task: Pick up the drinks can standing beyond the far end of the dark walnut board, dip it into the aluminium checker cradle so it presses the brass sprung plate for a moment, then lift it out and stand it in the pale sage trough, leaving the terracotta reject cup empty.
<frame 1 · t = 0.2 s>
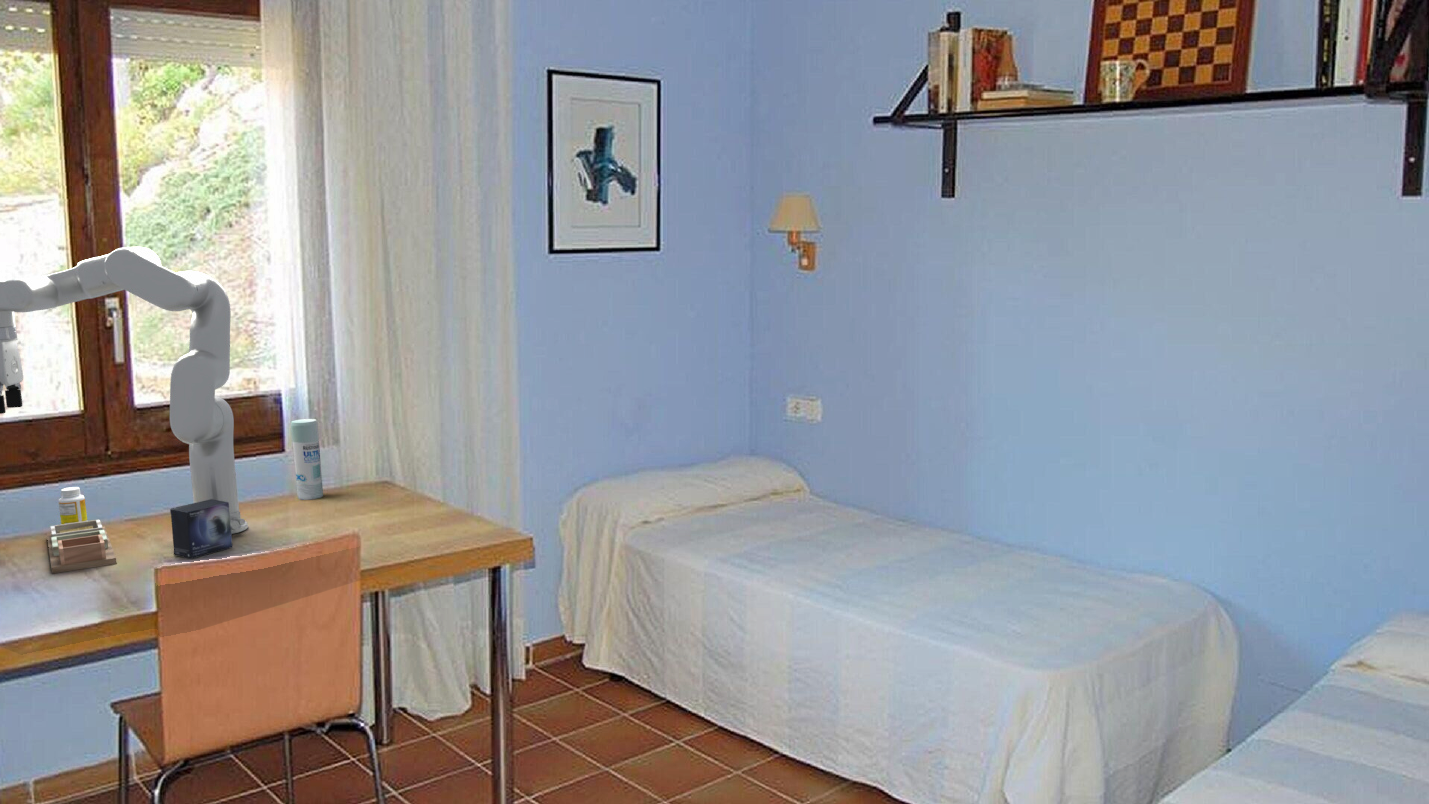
hand: (6, 410, 275), 30 cm above the table, tool pointing down, fingers open, 9 cm apart
spray paint can: (310, 497, 315), on the table
sprung plate: (77, 532, 277), point 2 cm above the table, slide at 0.0 cm
supplement bottle: (75, 531, 287), on the table
small box: (204, 552, 264), on the table
board: (80, 550, 268), on the table
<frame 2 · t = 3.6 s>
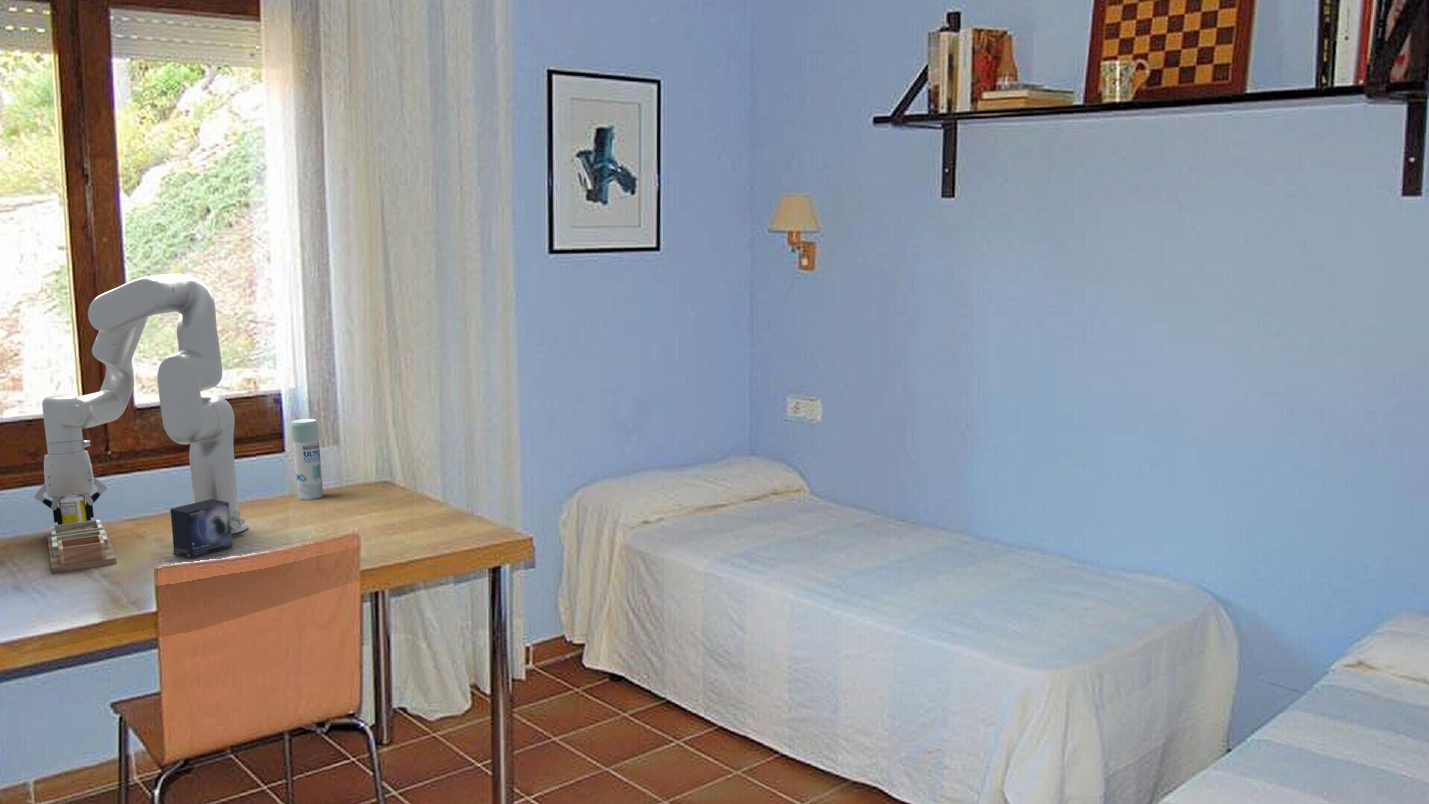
hand: (74, 522, 287), 2 cm above the table, tool pointing down, fingers closed on supplement bottle, 5 cm apart
supplement bottle: (75, 531, 287), on the table, touching gripper
everything else where it was.
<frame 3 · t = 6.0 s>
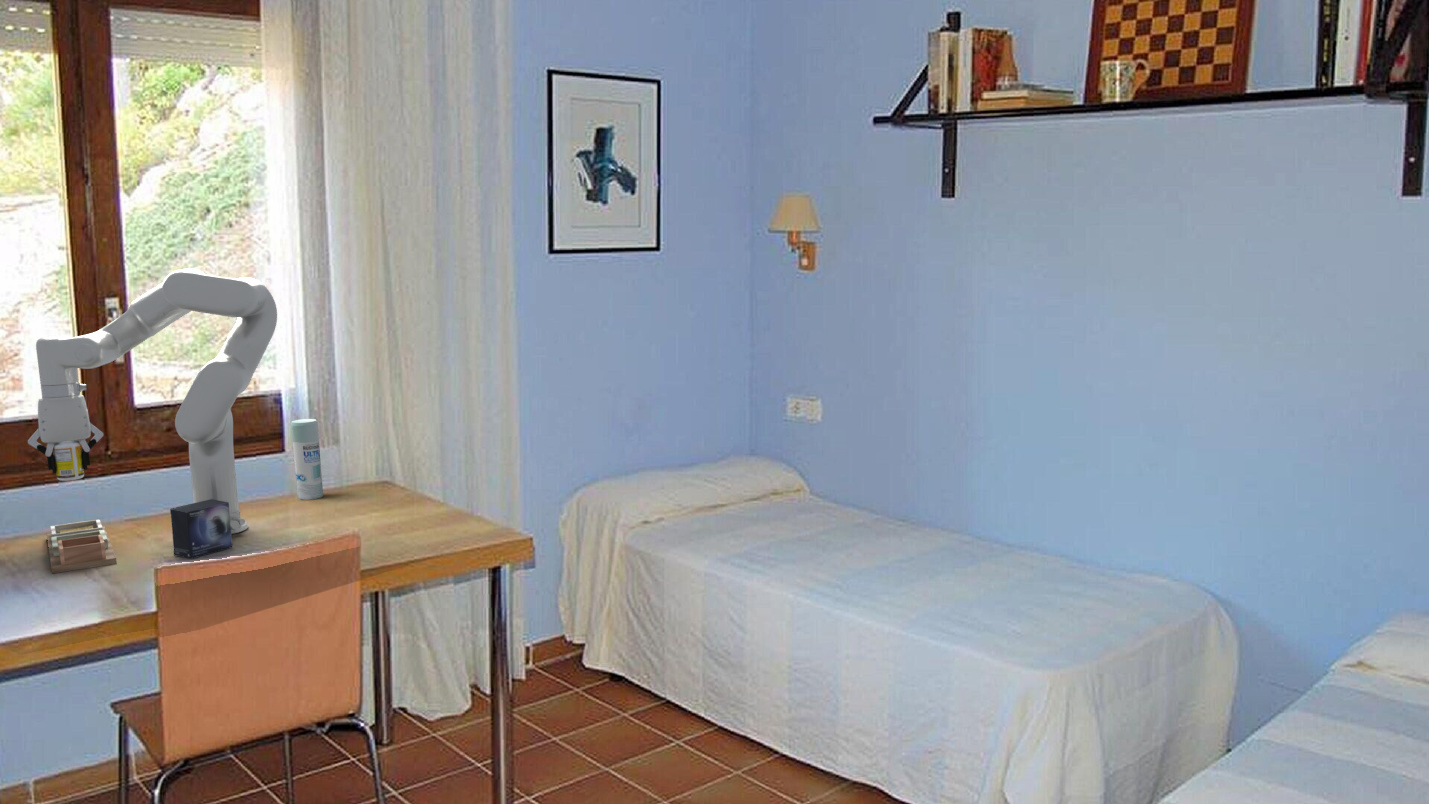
hand: (69, 470, 274), 17 cm above the table, tool pointing down, fingers closed on supplement bottle, 5 cm apart
supplement bottle: (70, 479, 275), point 14 cm above the table, touching gripper
everything else where it was.
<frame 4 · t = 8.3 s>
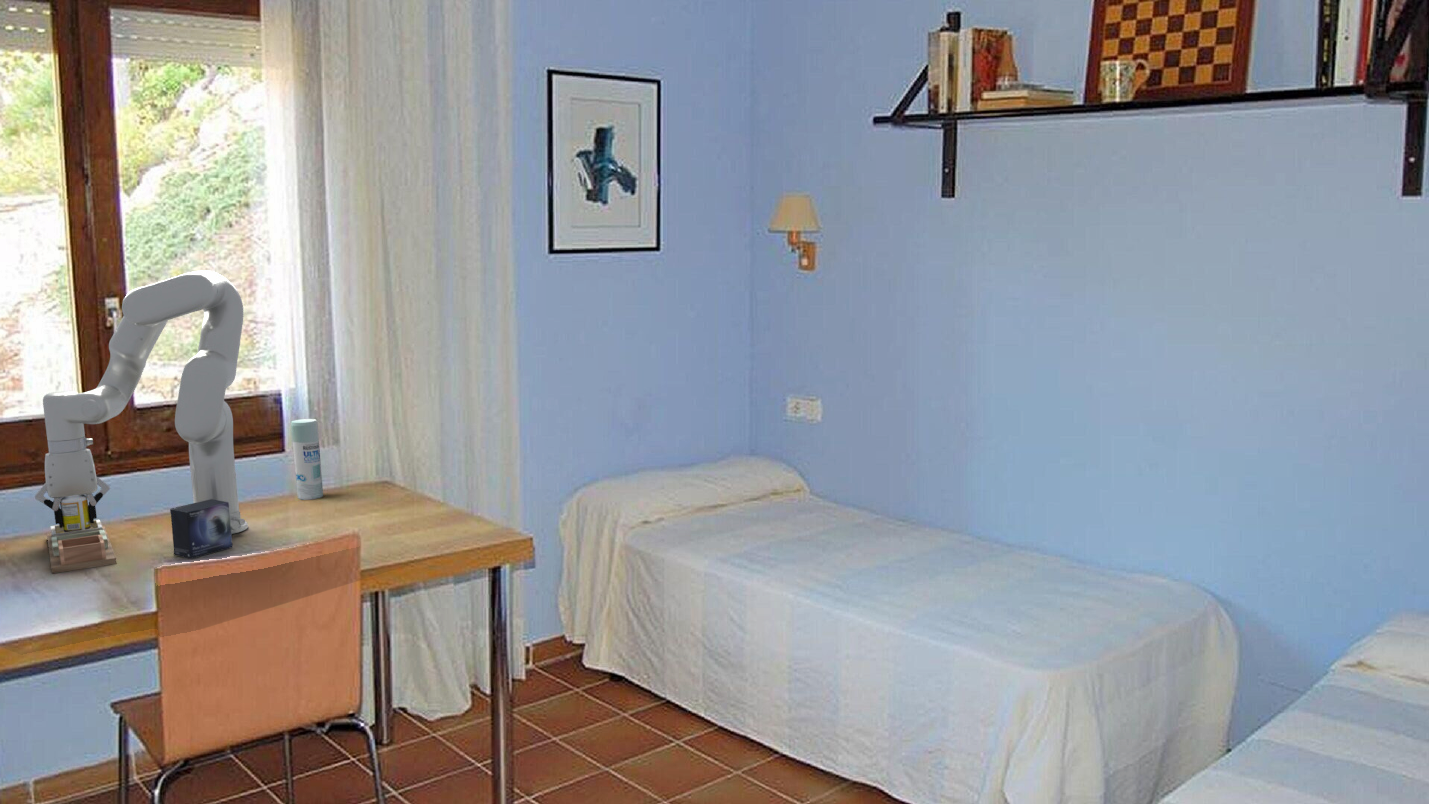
hand: (76, 523, 276), 4 cm above the table, tool pointing down, fingers closed on supplement bottle, 5 cm apart
sprung plate: (77, 534, 277), point 2 cm above the table, slide at -0.3 cm, touching supplement bottle
supplement bottle: (77, 533, 277), point 2 cm above the table, touching gripper, sprung plate
everything else where it was.
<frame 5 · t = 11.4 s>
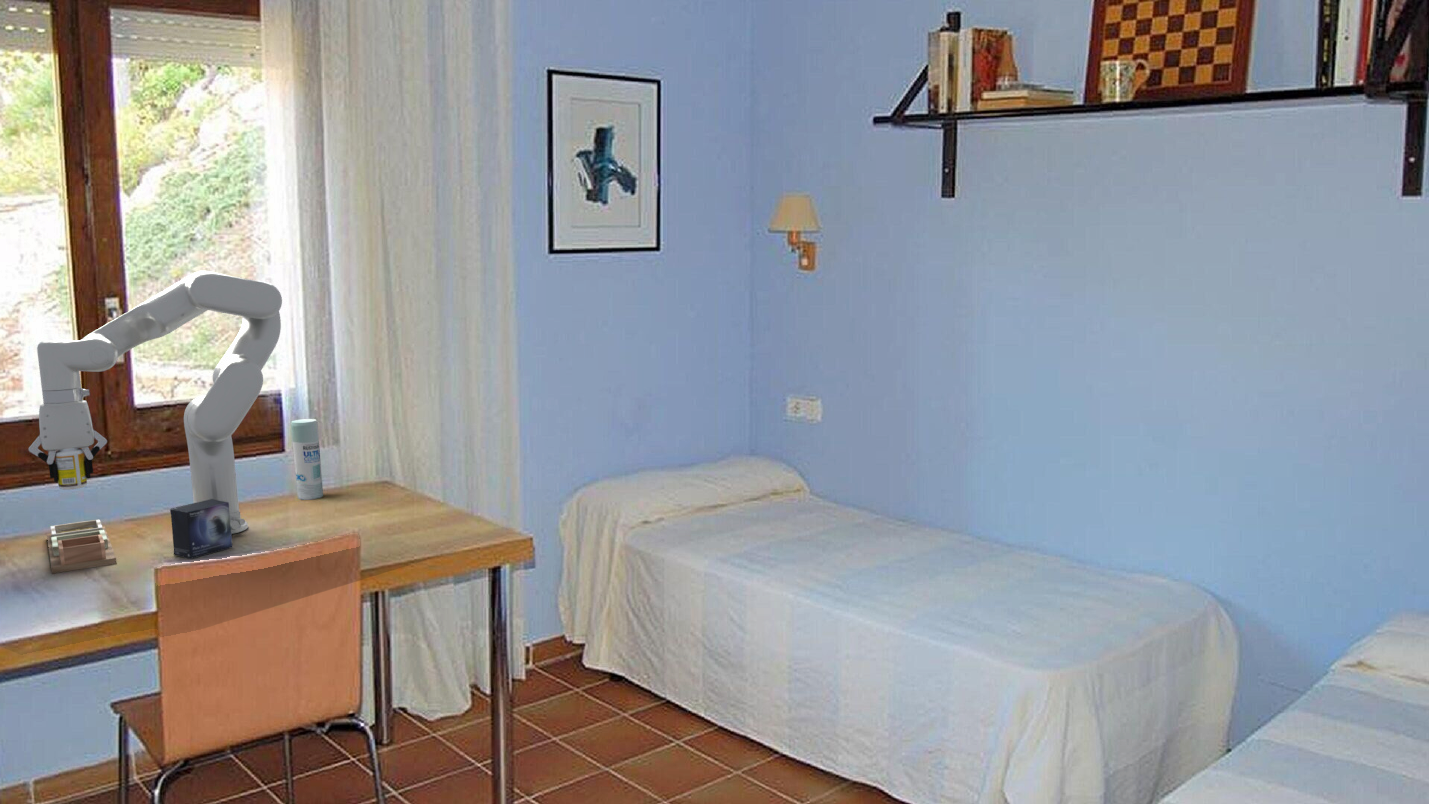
hand: (72, 478, 265), 17 cm above the table, tool pointing down, fingers closed on supplement bottle, 5 cm apart
sprung plate: (77, 534, 277), point 2 cm above the table, slide at -0.3 cm
supplement bottle: (73, 488, 265), point 14 cm above the table, touching gripper
everything else where it was.
when the fingers open (4 cm above the table, at t = 14.4 s): supplement bottle stays where it is, resting on board.
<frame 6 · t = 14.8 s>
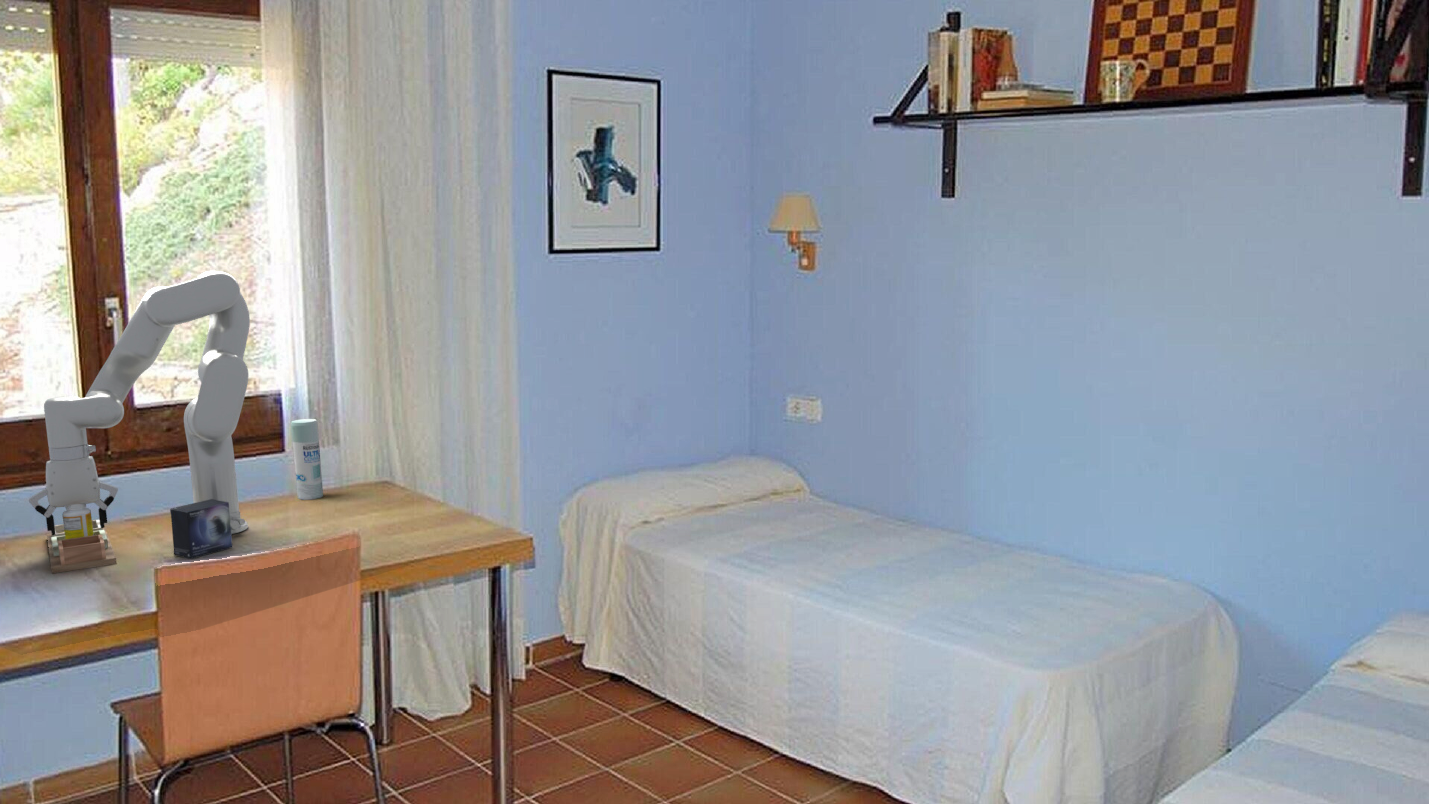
hand: (78, 530, 266), 5 cm above the table, tool pointing down, fingers open, 9 cm apart
supplement bottle: (80, 547, 267), point 1 cm above the table, touching board
everything else where it was.
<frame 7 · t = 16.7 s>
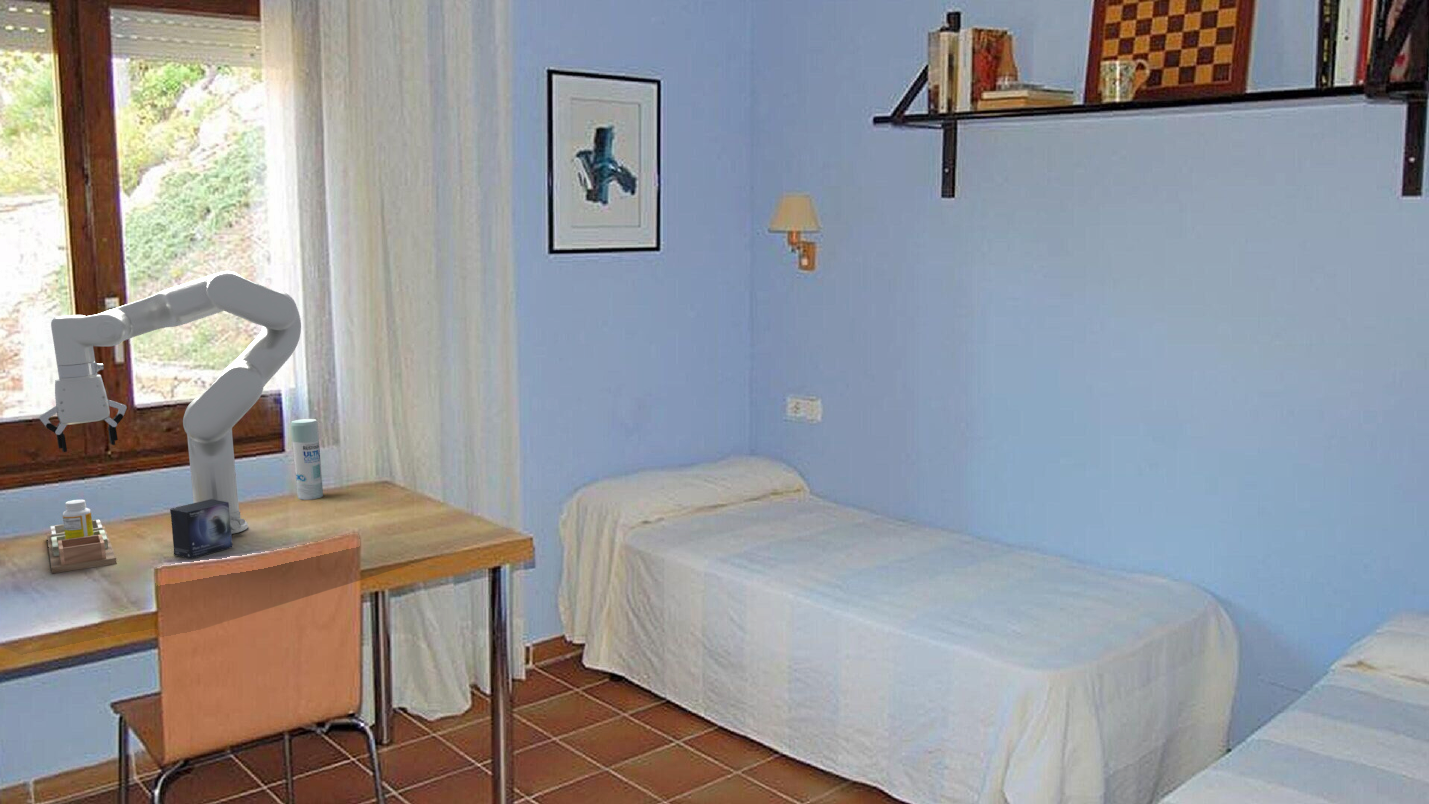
hand: (89, 447, 270), 22 cm above the table, tool pointing down, fingers open, 9 cm apart
nothing on the table moved.
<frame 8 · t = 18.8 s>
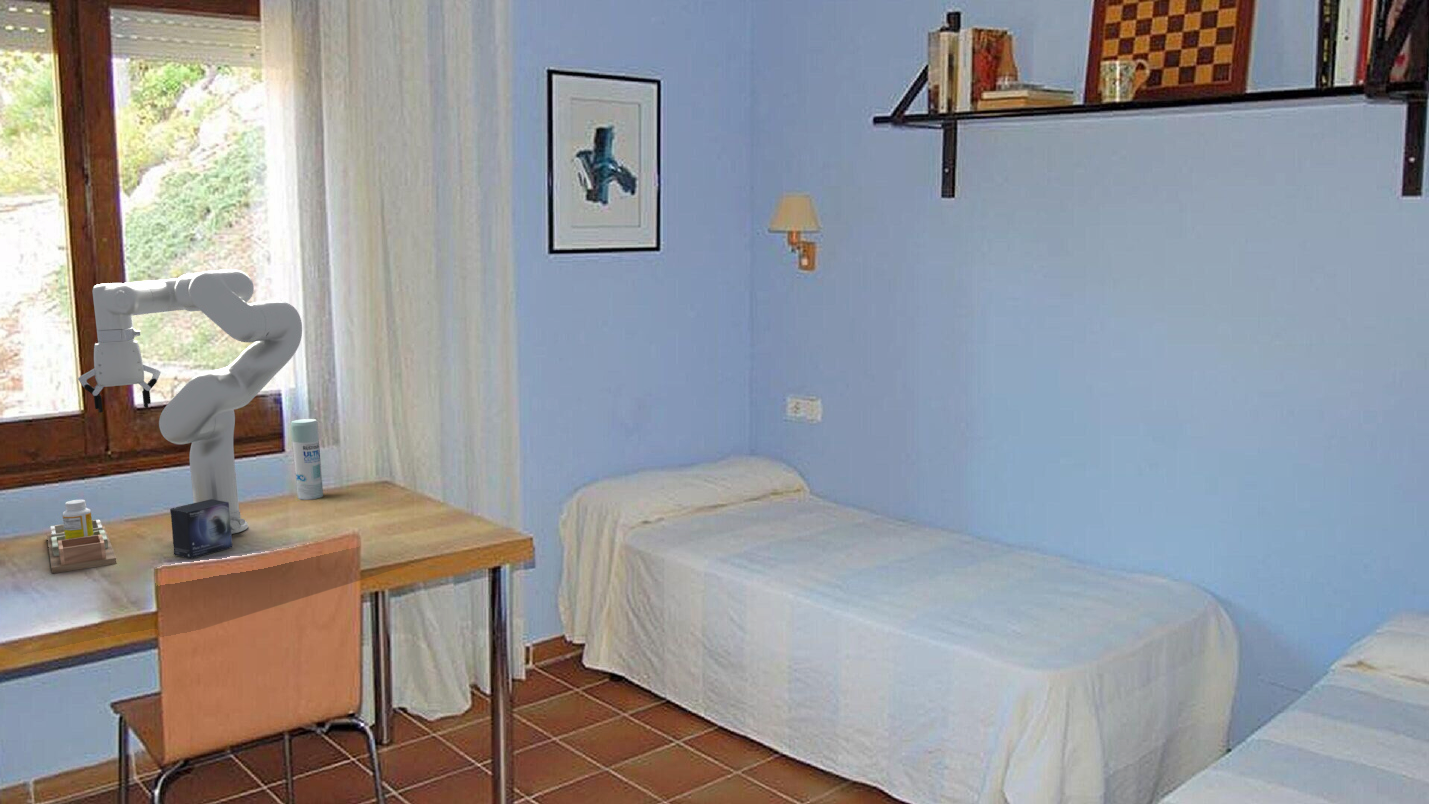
hand: (123, 409, 284), 28 cm above the table, tool pointing down, fingers open, 9 cm apart
nothing on the table moved.
at the end: supplement bottle inside the target area (0.1 cm from its centre), point 1.0 cm above the table; supplement bottle tilted 0°; the gripper is holding nothing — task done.
